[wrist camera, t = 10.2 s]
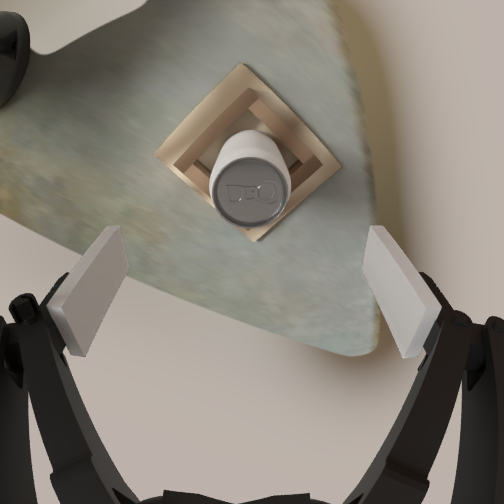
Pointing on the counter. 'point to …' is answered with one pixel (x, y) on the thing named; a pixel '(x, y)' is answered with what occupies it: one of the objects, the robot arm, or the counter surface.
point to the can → (250, 180)
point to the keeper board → (239, 119)
